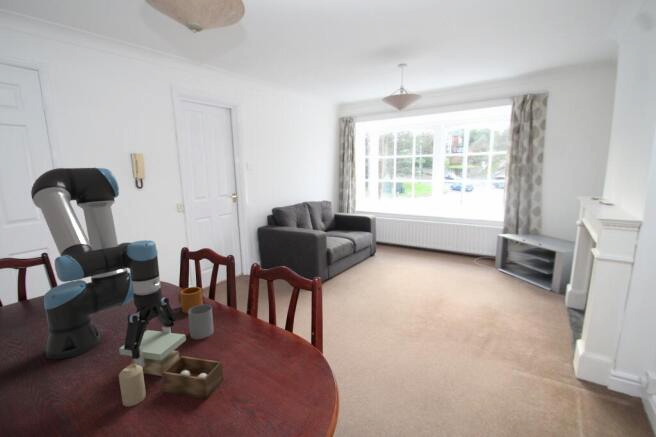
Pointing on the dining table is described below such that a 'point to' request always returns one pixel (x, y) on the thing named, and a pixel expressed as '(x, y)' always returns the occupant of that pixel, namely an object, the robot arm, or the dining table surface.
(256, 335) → the dining table surface
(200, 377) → the ball
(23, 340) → the dining table surface
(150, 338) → the lid
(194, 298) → the mug
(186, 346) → the dining table surface
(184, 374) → the ball
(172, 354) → the block
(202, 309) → the cup
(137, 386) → the candle
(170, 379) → the walnut box
